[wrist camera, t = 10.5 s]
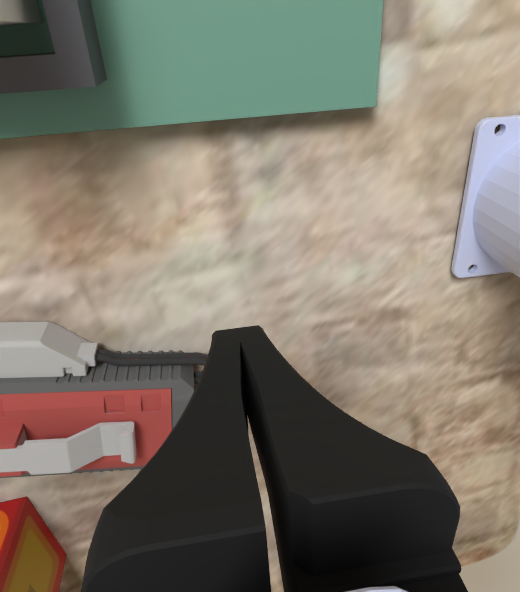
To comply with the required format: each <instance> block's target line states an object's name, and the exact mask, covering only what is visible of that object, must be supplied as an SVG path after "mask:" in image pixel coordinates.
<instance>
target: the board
mask: <svg viewBox="0 0 520 592" xmlns="http://www.w3.org/2000/svg"><path fill="white" fill-rule="evenodd" d="M37 2H38V5H39V9H40V13H41V17H42V21H43V23H35V24H21V25H6V26H0V139H5V138H17V137H28V136H40V135H51V134H63V133H74V132H86V131H98V130H109V129H121V128H132V127H144V126H156V125H167V124H179V123H190V122H202V121H213V120H225V119H237V118H248V117H260V116H271V115H283V114H294V113H306V112H318V111H329V110H341V109H352V108H364V107H376V103H377V88H378V72H379V57H380V41H381V26H382V10H383V0H37Z"/></svg>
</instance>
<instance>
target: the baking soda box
mask: <svg viewBox="0 0 520 592" xmlns="http://www.w3.org/2000/svg"><path fill="white" fill-rule="evenodd" d="M65 560H66V553H65V552H64V550H63V549H62V547H61V546H60V544H59V543H58V541H57V540H56V538H55V537H54V536H53V534H52V533H51V531H50V530H49V528H48V527H47V525H46V524H45V522H44V521H43V519H42V518H41V517H40V515H39V514H38V512H37V511H36V509H35V508H34V506H33V505H32V503H31V502H30V501H29V499H28V498H27V497H23V498H18V499H14V500H10V501H5V502H1V503H0V592H58V591H59V587H60V582H61V578H62V573H63V569H64V564H65Z"/></svg>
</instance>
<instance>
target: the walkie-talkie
mask: <svg viewBox="0 0 520 592" xmlns="http://www.w3.org/2000/svg"><path fill="white" fill-rule="evenodd" d="M207 358H208V355H206V354H202V353H184V352H182V351H181V350H180V351H179V352H173V351H172V350H170V351H169V352H163V351H159V352H152V351H148V352H142V351H138V353H132V352H131V351H128V352H127V353H121V352H120V351H117V353H114V352H111V351H109V350H103V349H98V343H91V342H89V341H87V340H85V339H83V338H81V337H80V336H78V335H76V334H74V333H72V332H70V331H68V330H67V329H65V328H63V327H61V326H59V325H57V324H55V323H53V322H0V478H7V477H23V476H40V475H56V474H72V473H82V472H95V471H99V472H103V471H113V470H128V469H130V470H133V469H143V467H144V466H145V465H146V464H147V463H148V462H149V460H150V459H151V458H152V457H153V456H154V454H155V453H156V452H157V451H158V449H159V448H160V447H161V445H162V444H163V443H164V441H165V440H166V438H167V437H168V435H169V434H170V432H171V431H172V430H173V428H174V427H175V425H176V423H177V422H178V420H179V419H180V417H181V415H182V414H183V412H184V410H185V408H186V406H187V405H188V403H189V401H190V399H191V397H192V395H193V392H194V384H197V383H198V382H199V379H200V377H201V374H202V372H203V371H201V372H194V371H193V364H199V365H204V366H205V364H206V361H207Z"/></svg>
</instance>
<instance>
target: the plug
mask: <svg viewBox="0 0 520 592" xmlns="http://www.w3.org/2000/svg"><path fill="white" fill-rule="evenodd" d="M35 23H43V21H42V17H41V13H40V9H39V5H38V2H37V0H0V26H6V25H21V24H35Z"/></svg>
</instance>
